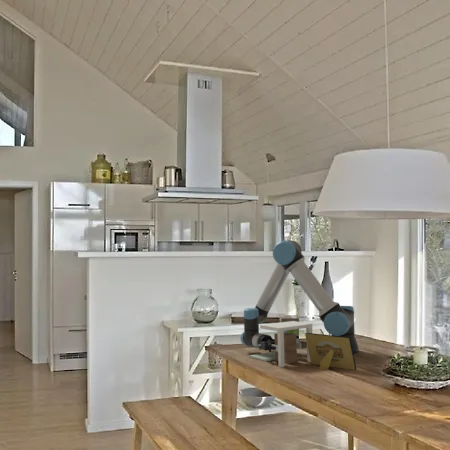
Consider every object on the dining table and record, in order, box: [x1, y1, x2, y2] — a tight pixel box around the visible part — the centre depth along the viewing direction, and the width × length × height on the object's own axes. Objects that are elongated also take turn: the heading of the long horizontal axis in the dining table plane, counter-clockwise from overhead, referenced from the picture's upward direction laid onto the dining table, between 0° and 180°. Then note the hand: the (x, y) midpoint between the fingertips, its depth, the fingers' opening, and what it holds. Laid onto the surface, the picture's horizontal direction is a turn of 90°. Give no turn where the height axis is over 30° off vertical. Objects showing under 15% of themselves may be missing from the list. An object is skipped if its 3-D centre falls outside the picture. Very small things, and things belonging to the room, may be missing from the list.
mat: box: [249, 351, 275, 362], centre depth 299 cm, size 14×14×1 cm
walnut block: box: [273, 332, 298, 365], centre depth 289 cm, size 9×6×13 cm, turn 33°
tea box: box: [278, 314, 300, 343], centre depth 339 cm, size 15×10×15 cm, turn 179°
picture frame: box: [304, 332, 357, 371], centre depth 271 cm, size 23×9×15 cm, turn 47°
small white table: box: [259, 321, 313, 368], centre depth 288 cm, size 14×20×18 cm
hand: (290, 347), depth 285 cm, fingers open, 11 cm apart
